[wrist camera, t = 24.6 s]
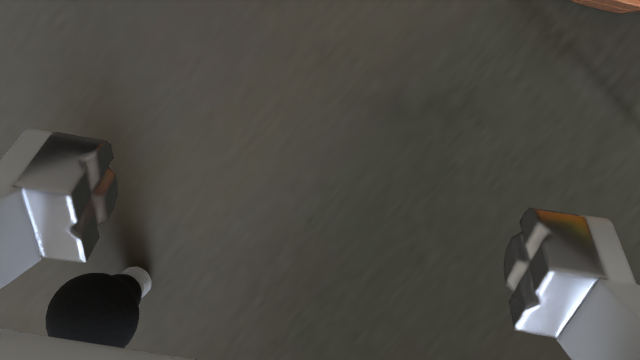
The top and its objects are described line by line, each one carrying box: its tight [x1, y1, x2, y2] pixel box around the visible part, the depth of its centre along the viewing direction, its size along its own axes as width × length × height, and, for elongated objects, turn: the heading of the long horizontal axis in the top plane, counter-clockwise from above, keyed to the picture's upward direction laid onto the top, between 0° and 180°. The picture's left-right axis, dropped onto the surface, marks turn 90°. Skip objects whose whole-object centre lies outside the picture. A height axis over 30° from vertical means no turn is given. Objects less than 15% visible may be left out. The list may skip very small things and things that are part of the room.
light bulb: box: [46, 267, 151, 348], centre depth 41 cm, size 6×6×10 cm
